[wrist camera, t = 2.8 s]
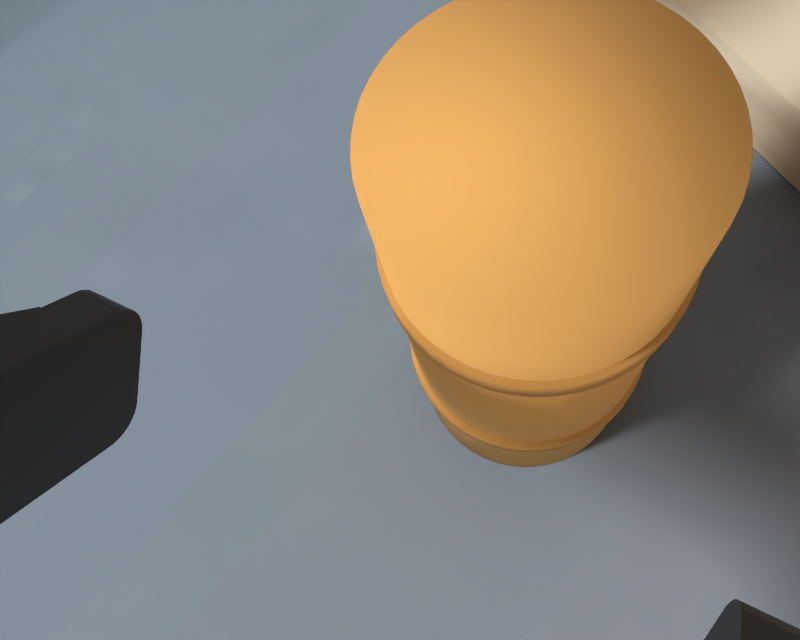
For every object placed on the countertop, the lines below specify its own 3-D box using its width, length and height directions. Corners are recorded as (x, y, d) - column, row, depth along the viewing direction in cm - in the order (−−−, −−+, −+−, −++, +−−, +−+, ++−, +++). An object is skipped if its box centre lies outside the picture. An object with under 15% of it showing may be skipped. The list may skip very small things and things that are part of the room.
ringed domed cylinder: (386, 349, 21) (270, 108, 10) (542, 244, 21) (579, -88, 11) (501, 512, 19) (500, 416, 8) (668, 393, 19) (858, 165, 9)
